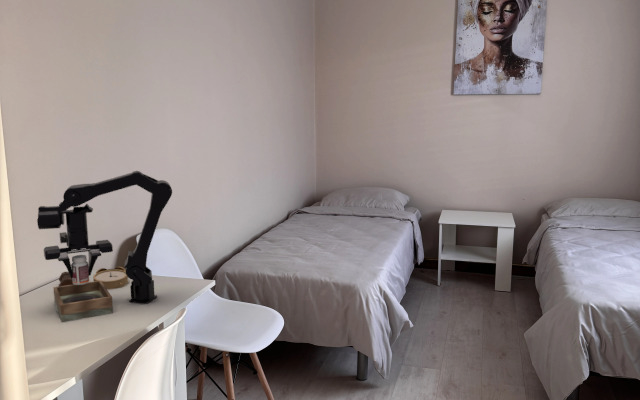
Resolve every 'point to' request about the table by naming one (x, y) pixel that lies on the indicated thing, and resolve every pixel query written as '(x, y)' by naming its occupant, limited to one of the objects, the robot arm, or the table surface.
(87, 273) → the pill bottle
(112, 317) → the table surface
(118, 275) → the alarm clock
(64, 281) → the brown tall rounded piece
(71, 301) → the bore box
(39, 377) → the table surface
